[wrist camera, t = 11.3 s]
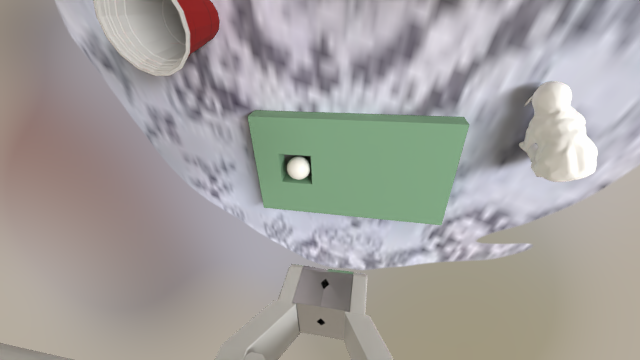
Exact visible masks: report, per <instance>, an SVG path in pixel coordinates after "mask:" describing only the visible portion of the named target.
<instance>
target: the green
mask: <svg viewBox="0 0 640 360" xmlns="http://www.w3.org/2000/svg"><path fill="white" fill-rule="evenodd" d="M248 122H249V127H250V133H251V138H252V144H253V149H254V155H255V160H256V166H257V171H258V177H259V183H260V188H261V194H262V199H263V205H264V208H274V209H284V210H294V211H304V212H314V213H324V214H334V215H344V216H354V217H364V218H374V219H384V220H395V221H405V222H415V223H425V224H435V225H441V224H442V221H443V217H444V214H445V210H446V206H447V203H448V199H449V196H450V192H451V189H452V185H453V181H454V178H455V174H456V171H457V167H458V163H459V160H460V156H461V153H462V149H463V146H464V142H465V138H466V135H467V131H468V128H469V124H468V122H467V121H466V119H465V118H464V117H445V116H415V115H385V114H354V113H324V112H293V111H263V110H255V111H254V112H252V113H251V114H250V115H249V116H248ZM297 156H300V157H304V158H305V159H307V160H308V162H309V164H310V172H309V174H308V176H307V177H305V178H304V179H301V180H297V179H294V178H292V177H291V176H290V175H289V174H288V172H287V164H288V162H289V161H290V160H291V159H292V158H294V157H297Z"/></svg>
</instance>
